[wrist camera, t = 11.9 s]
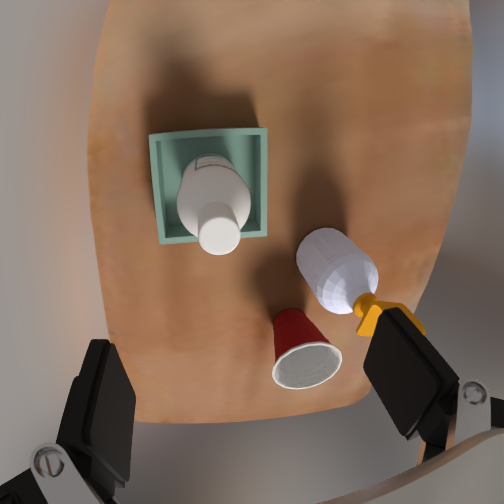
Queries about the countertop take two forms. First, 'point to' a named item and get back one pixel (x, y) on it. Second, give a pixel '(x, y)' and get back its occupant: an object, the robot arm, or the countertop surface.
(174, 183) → the tub
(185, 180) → the bath foam
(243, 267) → the countertop surface
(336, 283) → the soap bottle
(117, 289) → the countertop surface
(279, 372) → the plastic cup
